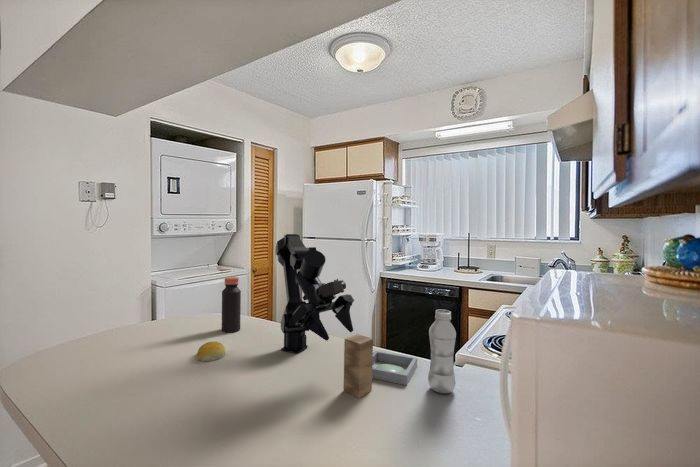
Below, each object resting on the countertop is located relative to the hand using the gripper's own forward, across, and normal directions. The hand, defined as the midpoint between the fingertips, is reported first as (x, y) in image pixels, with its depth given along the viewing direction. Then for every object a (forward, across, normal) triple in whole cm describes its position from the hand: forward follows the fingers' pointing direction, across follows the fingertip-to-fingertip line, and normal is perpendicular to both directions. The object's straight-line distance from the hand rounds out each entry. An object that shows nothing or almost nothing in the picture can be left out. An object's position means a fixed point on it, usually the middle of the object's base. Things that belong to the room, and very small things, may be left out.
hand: (340, 335), depth 87 cm
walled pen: (+12, +15, +5) cm, 20 cm away
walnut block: (+13, 0, +5) cm, 14 cm away
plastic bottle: (+24, +15, -6) cm, 29 cm away
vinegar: (-33, +3, +51) cm, 60 cm away
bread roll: (-20, -14, +38) cm, 45 cm away
